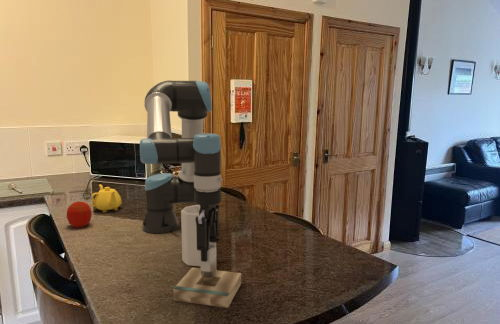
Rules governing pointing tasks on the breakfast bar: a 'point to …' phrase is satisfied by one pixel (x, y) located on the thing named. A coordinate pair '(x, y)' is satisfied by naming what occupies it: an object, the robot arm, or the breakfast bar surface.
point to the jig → (207, 288)
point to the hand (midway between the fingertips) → (208, 266)
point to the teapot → (106, 199)
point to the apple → (79, 214)
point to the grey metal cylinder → (211, 263)
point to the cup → (190, 235)
